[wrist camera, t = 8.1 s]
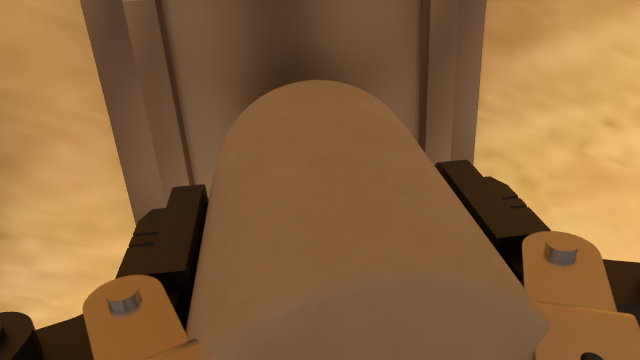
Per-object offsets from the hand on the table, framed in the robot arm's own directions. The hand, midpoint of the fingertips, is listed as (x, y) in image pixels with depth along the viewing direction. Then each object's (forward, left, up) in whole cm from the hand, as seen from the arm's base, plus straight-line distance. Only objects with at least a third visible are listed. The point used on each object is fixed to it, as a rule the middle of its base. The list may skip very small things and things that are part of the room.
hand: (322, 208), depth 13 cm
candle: (0, 0, -2) cm, 2 cm away
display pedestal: (0, 0, -12) cm, 12 cm away
